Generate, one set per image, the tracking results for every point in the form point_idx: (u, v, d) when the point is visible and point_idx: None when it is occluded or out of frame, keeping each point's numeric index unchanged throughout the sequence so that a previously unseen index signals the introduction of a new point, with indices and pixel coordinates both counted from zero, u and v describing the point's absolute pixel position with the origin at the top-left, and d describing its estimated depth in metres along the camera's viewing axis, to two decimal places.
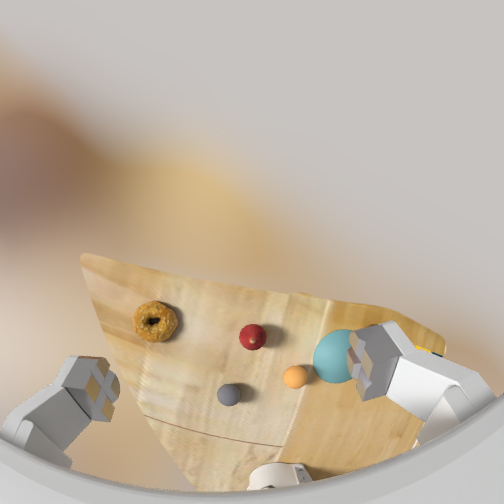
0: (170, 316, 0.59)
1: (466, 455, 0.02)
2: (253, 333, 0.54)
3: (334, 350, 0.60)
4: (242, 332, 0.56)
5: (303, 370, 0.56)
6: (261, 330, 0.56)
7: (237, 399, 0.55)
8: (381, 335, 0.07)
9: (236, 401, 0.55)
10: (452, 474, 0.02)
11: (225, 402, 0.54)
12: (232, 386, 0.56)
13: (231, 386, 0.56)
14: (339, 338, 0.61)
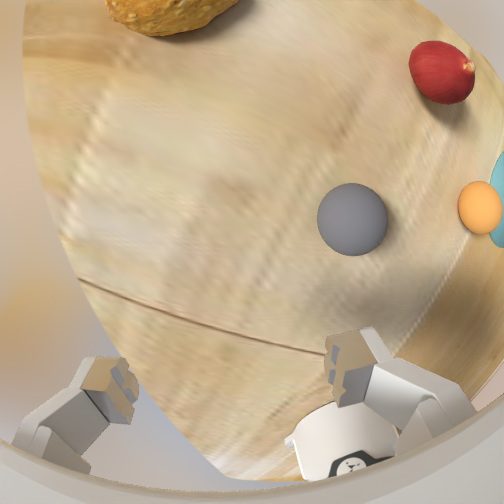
0: None
1: (466, 455, 0.02)
2: (464, 55, 0.11)
3: None
4: (432, 44, 0.12)
5: None
6: None
7: (384, 235, 0.18)
8: (357, 341, 0.07)
9: (380, 241, 0.18)
10: (452, 474, 0.02)
11: (356, 241, 0.17)
12: (373, 191, 0.18)
13: (373, 191, 0.18)
14: None
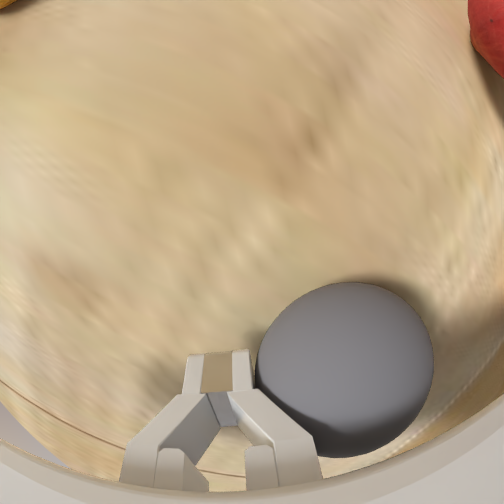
0: None
1: (466, 455, 0.02)
2: None
3: None
4: None
5: None
6: None
7: None
8: (223, 364, 0.07)
9: None
10: (452, 474, 0.02)
11: (353, 455, 0.05)
12: (412, 310, 0.06)
13: (415, 313, 0.06)
14: None
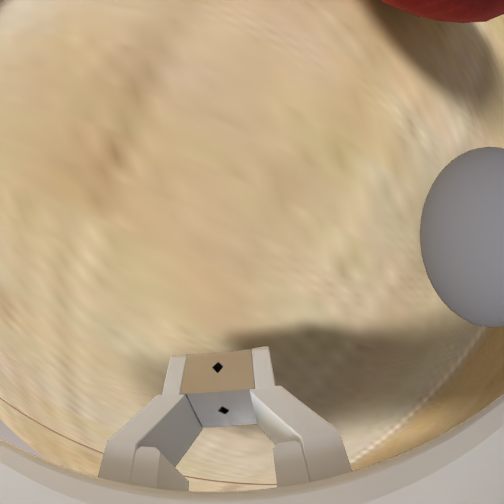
0: None
1: (466, 455, 0.02)
2: None
3: None
4: None
5: None
6: None
7: (461, 309, 0.06)
8: (243, 362, 0.07)
9: (467, 318, 0.06)
10: (452, 474, 0.02)
11: None
12: (439, 189, 0.06)
13: (433, 193, 0.06)
14: None
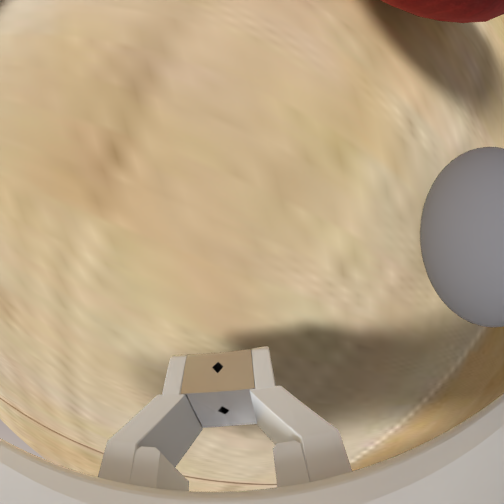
0: None
1: (466, 455, 0.02)
2: None
3: None
4: None
5: None
6: None
7: (462, 309, 0.06)
8: (243, 362, 0.07)
9: (467, 318, 0.06)
10: (452, 474, 0.02)
11: None
12: (439, 189, 0.06)
13: (433, 192, 0.06)
14: None
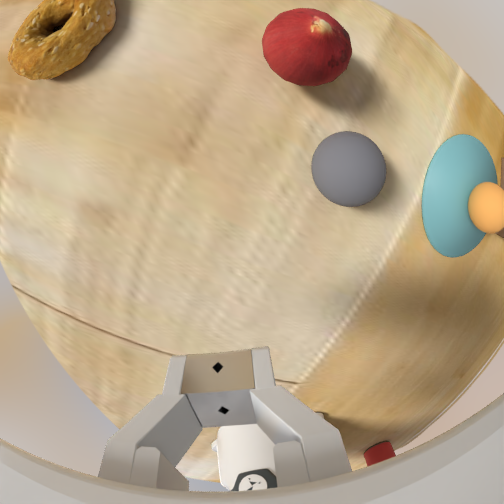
0: (97, 0, 0.11)
1: (466, 455, 0.02)
2: (324, 15, 0.10)
3: (461, 176, 0.21)
4: (280, 15, 0.11)
5: (502, 199, 0.17)
6: None
7: (327, 194, 0.18)
8: (243, 362, 0.07)
9: (333, 199, 0.18)
10: (452, 474, 0.02)
11: None
12: None
13: None
14: (472, 153, 0.20)
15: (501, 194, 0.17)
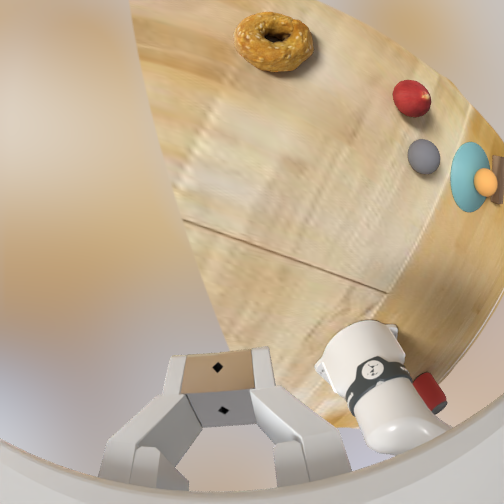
0: (308, 34, 0.26)
1: (466, 455, 0.02)
2: (424, 88, 0.26)
3: (469, 165, 0.36)
4: (406, 83, 0.27)
5: (492, 176, 0.33)
6: None
7: (417, 167, 0.33)
8: (243, 362, 0.07)
9: (419, 169, 0.33)
10: (452, 474, 0.02)
11: None
12: (410, 147, 0.34)
13: (409, 148, 0.34)
14: (475, 152, 0.35)
15: (491, 174, 0.33)
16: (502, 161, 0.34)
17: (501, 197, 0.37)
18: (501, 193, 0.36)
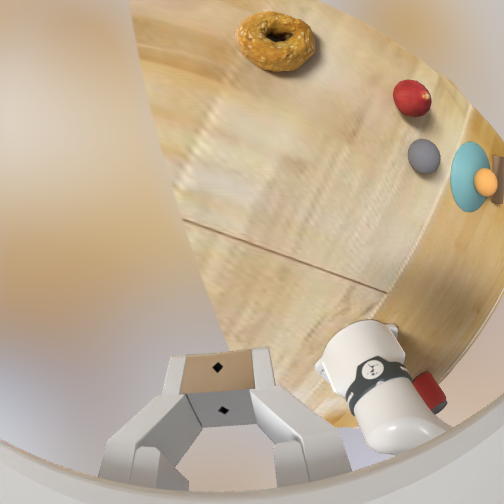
0: (310, 34, 0.26)
1: (466, 455, 0.02)
2: (425, 88, 0.26)
3: (470, 164, 0.36)
4: (406, 83, 0.27)
5: (492, 176, 0.33)
6: None
7: (417, 166, 0.33)
8: (243, 362, 0.07)
9: (419, 169, 0.33)
10: (452, 474, 0.02)
11: None
12: (410, 147, 0.34)
13: (409, 147, 0.34)
14: (475, 152, 0.35)
15: (491, 174, 0.33)
16: (502, 161, 0.34)
17: (501, 197, 0.37)
18: (501, 193, 0.36)
